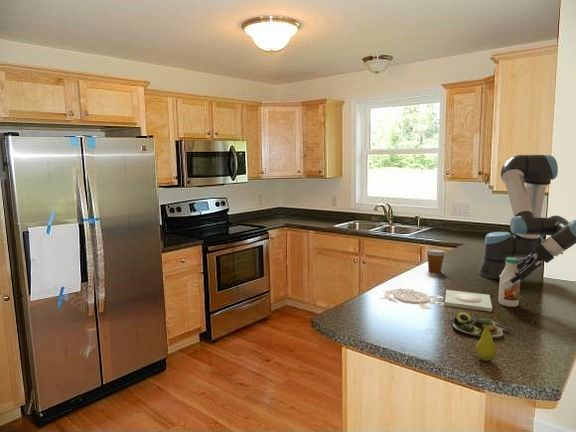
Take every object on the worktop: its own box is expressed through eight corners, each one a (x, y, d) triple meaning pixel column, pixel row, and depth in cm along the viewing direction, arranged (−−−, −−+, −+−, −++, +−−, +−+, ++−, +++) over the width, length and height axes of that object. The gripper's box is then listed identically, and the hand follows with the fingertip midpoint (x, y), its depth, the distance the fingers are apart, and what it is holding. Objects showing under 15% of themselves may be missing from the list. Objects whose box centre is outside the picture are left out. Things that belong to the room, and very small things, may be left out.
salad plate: (507, 324, 153) (508, 313, 153) (514, 344, 137) (515, 331, 136) (452, 317, 160) (452, 306, 160) (452, 335, 144) (452, 322, 143)
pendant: (392, 287, 199) (392, 284, 199) (451, 299, 182) (451, 296, 182) (372, 298, 183) (372, 295, 183) (435, 313, 166) (435, 309, 165)
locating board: (446, 292, 189) (446, 289, 189) (489, 298, 182) (489, 294, 182) (444, 305, 173) (445, 301, 172) (492, 311, 166) (492, 307, 165)
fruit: (492, 366, 121) (495, 328, 120) (472, 360, 125) (474, 322, 124) (497, 359, 126) (500, 322, 124) (478, 353, 130) (480, 317, 128)
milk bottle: (495, 304, 175) (499, 258, 172) (501, 299, 180) (504, 255, 178) (515, 308, 170) (519, 261, 167) (520, 303, 175) (524, 258, 172)
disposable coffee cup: (436, 268, 231) (437, 248, 230) (447, 273, 223) (448, 251, 221) (421, 270, 228) (423, 249, 227) (433, 274, 220) (434, 252, 218)
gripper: (561, 263, 155) (512, 297, 163) (549, 251, 177) (506, 281, 185) (546, 249, 156) (498, 283, 164) (536, 238, 178) (494, 268, 186)
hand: (502, 282), depth 175 cm, fingers open, 11 cm apart
